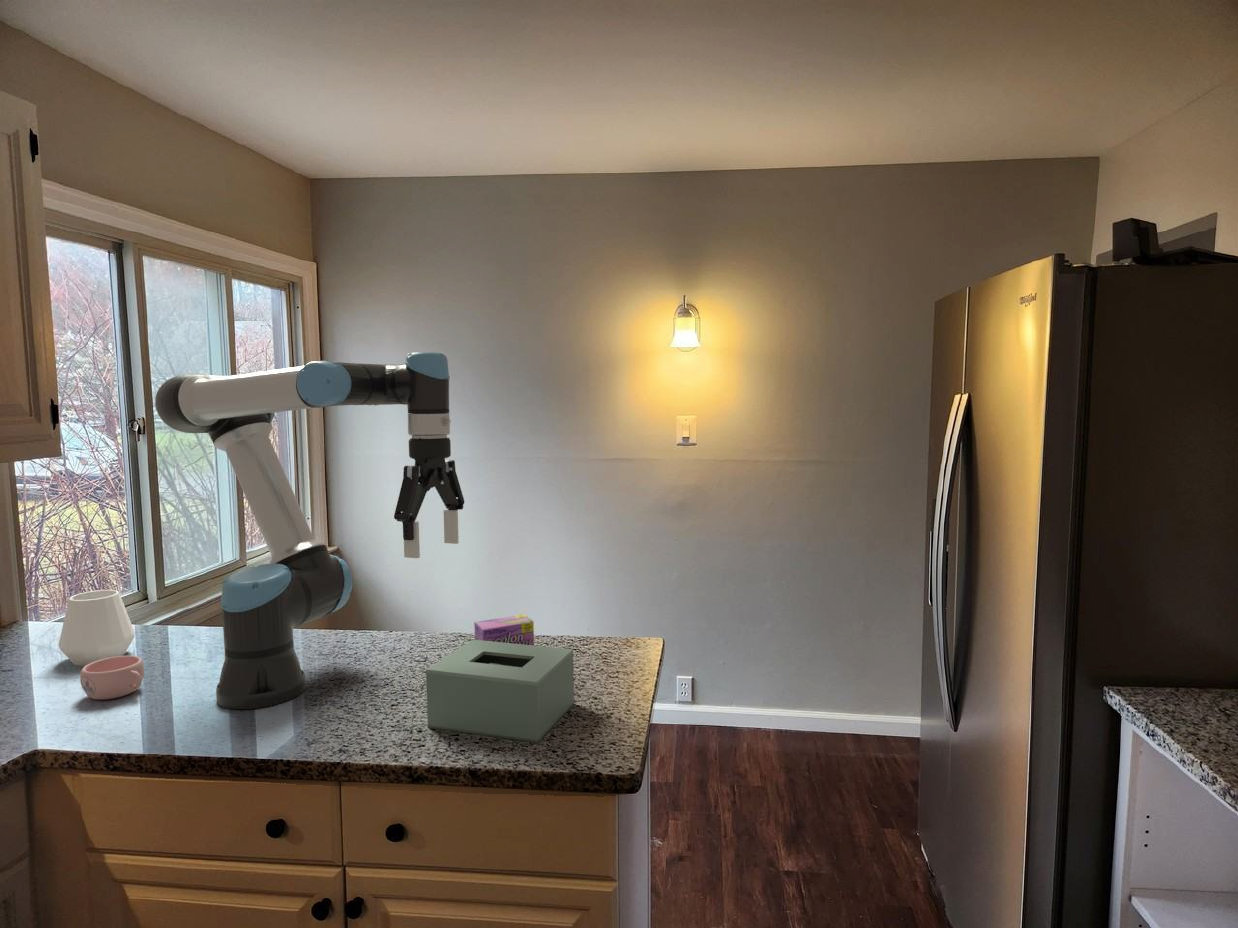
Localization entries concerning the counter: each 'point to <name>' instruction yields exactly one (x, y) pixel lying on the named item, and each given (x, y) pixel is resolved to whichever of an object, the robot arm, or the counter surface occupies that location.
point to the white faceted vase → (95, 627)
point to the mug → (112, 677)
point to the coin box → (500, 690)
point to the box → (506, 630)
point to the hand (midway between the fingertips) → (432, 550)
